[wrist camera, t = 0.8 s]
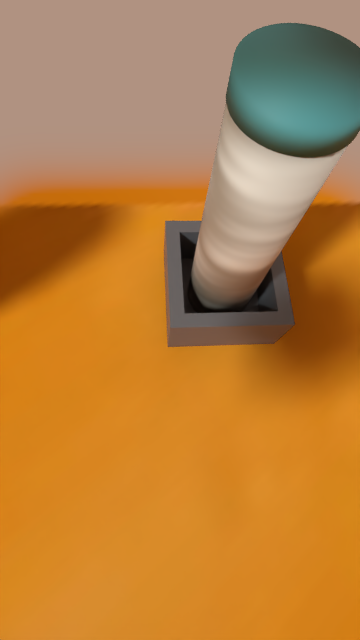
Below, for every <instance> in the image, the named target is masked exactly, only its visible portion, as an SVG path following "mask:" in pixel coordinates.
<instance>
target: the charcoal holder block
mask: <svg viewBox="0 0 360 640" xmlns="http://www.w3.org/2000/svg"><path fill="white" fill-rule="evenodd" d="M201 222H202V221H165V240H164V267H165V291H166V314H167V338H168V347H177V346H210V345H242V344H274V343H275V342H276V341H277V340H278V339H280V338H281V337H282V336H283V335H284V334H285V333H286V332H287V331H288V330H289V329H291V328H292V327H293V326H294V325H295V322H294V317H293V311H292V306H291V300H290V295H289V290H288V284H287V279H286V273H285V268H284V262H283V257H282V252H280V254H279V255H278V257H277V258H276V260H275V262H274V263H273V265H272V266H271V268H270V269H269V271H268V273H267V274H266V276H265V277H264V279H263V280H262V282H261V284H260V285H259V287H258V288H257V290H256V292H255V293H254V295H253V296H252V298H251V299H250V301H249V303H248V304H247V306H246V307H245V309H244V310H243V312H227V313H197V312H196V311H195V310H194V309H193V307H192V306H191V304H190V302H189V299H188V285H189V280H190V275H191V270H192V265H193V261H194V256H195V251H196V246H197V241H198V236H199V231H200V227H201Z"/></svg>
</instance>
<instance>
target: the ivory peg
mask: <svg viewBox="0 0 360 640" xmlns="http://www.w3.org/2000/svg"><path fill="white" fill-rule="evenodd" d="M359 131H360V48H359V47H358V46H357V45H356V44H354V43H353V42H351V41H350V40H348V39H346V38H344V37H343V36H341V35H339V34H337V33H334V32H332V31H329V30H326V29H324V28H320V27H316V26H312V25H306V24H298V23H281V24H274V25H269V26H265V27H262V28H259V29H257V30H255V31H253V32H251V33H250V34H248V35H247V36H246V37H244V38H243V39H242V41H241V42H240V43H239V44H238V46H237V48H236V50H235V53H234V57H233V63H232V67H231V72H230V77H229V82H228V87H227V93H226V105H225V110H224V115H223V120H222V125H221V130H220V134H219V139H218V144H217V149H216V154H215V159H214V163H213V168H212V174H211V178H210V183H209V188H208V193H207V197H206V202H205V207H204V212H203V217H202V222H201V227H200V231H199V236H198V241H197V246H196V251H195V256H194V261H193V265H192V270H191V275H190V280H189V285H188V299H189V302H190V304H191V306H192V307H193V309H194V310H195V311H196V312H197V313H227V312H243V310H244V309H245V307H246V306H247V304H248V303H249V301H250V299H251V298H252V296H253V295H254V293H255V292H256V290H257V288H258V287H259V285H260V284H261V282H262V280H263V279H264V277H265V276H266V274H267V273H268V271H269V269H270V268H271V266H272V265H273V263H274V262H275V260H276V258H277V257H278V255H279V254H280V252H281V251H282V249H283V247H284V246H285V244H286V243H287V241H288V239H289V238H290V236H291V235H292V233H293V232H294V230H295V228H296V227H297V225H298V224H299V222H300V221H301V219H302V217H303V216H304V214H305V213H306V211H307V210H308V208H309V206H310V205H311V203H312V202H313V200H314V198H315V197H316V195H317V194H318V192H319V190H320V189H321V187H322V186H323V184H324V182H325V181H326V179H327V178H328V176H329V175H330V173H331V171H332V170H333V168H334V167H335V165H336V164H337V162H338V161H339V159H340V157H341V156H342V154H343V153H344V151H345V150H346V148H347V146H348V145H349V144H350V143H351V142H352V141H353V140H354V138H355V137H356V136H357V134H358V132H359Z"/></svg>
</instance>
